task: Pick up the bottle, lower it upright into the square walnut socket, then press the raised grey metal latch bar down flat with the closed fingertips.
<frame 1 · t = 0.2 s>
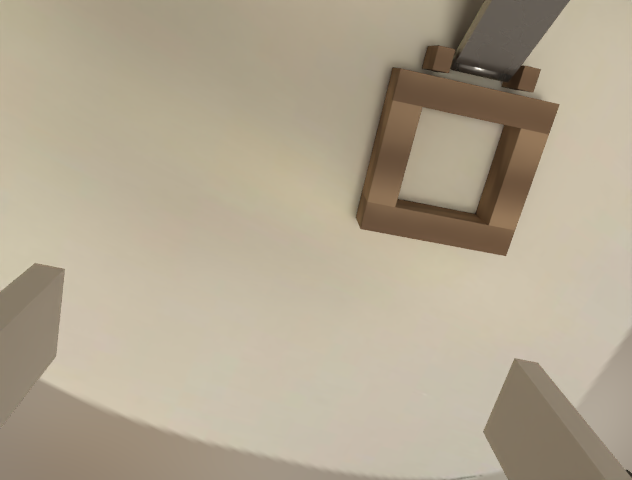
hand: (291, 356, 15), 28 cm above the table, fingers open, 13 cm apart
socket block: (445, 160, 42), on the table
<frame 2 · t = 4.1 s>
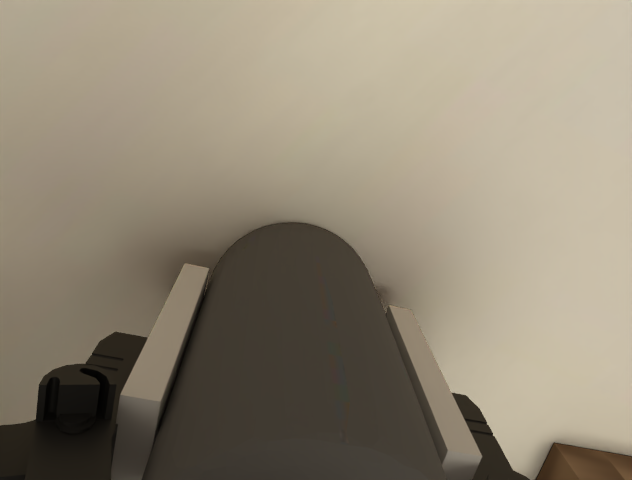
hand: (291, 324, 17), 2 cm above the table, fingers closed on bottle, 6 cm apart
bottle: (290, 296, 19), on the table, touching gripper
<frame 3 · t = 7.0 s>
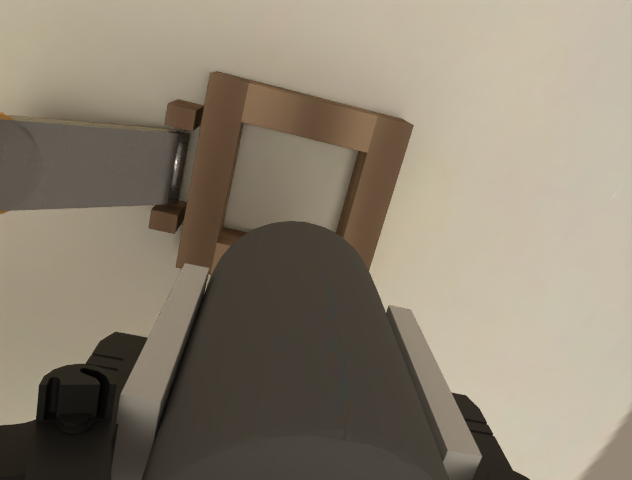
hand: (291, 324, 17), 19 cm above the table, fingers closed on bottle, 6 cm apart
bottle: (291, 295, 19), point 17 cm above the table, touching gripper
socket block: (290, 187, 34), on the table
latch bar: (73, 165, 27), point 6 cm above the table, hinge at 45.0°
when the fingers open (4 cm above the table, at t = 10.0 s): bottle drops 2 cm, resting in socket block.
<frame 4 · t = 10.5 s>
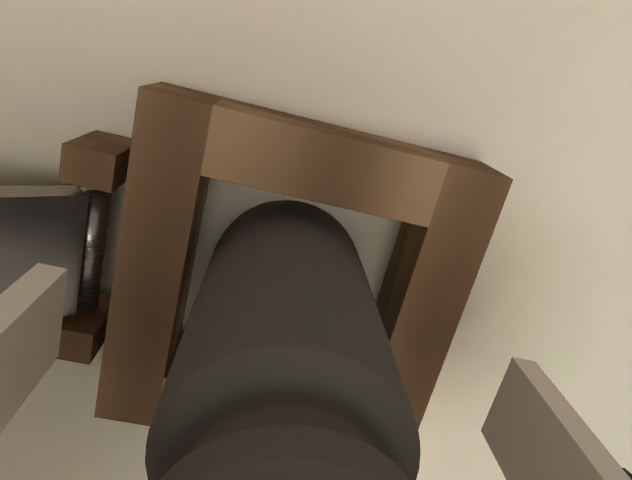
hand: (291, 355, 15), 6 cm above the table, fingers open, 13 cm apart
bottle: (286, 267, 21), resting in socket block
socket block: (290, 271, 21), on the table
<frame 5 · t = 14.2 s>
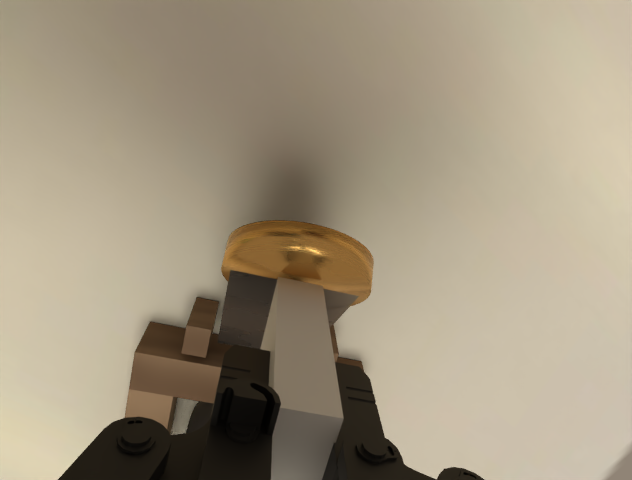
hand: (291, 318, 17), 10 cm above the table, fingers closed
bottle: (239, 423, 31), resting in socket block
socket block: (237, 428, 31), on the table
latch bar: (279, 305, 21), point 6 cm above the table, hinge at 45.0°, touching gripper
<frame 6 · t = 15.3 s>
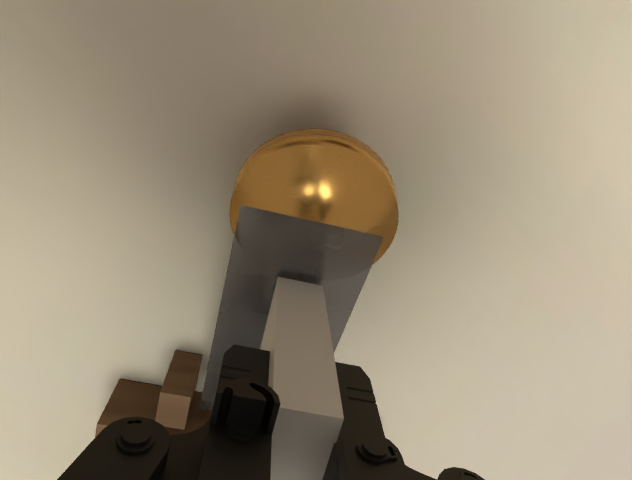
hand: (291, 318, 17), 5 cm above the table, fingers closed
latch bar: (284, 306, 18), point 4 cm above the table, hinge at 18.6°, touching gripper
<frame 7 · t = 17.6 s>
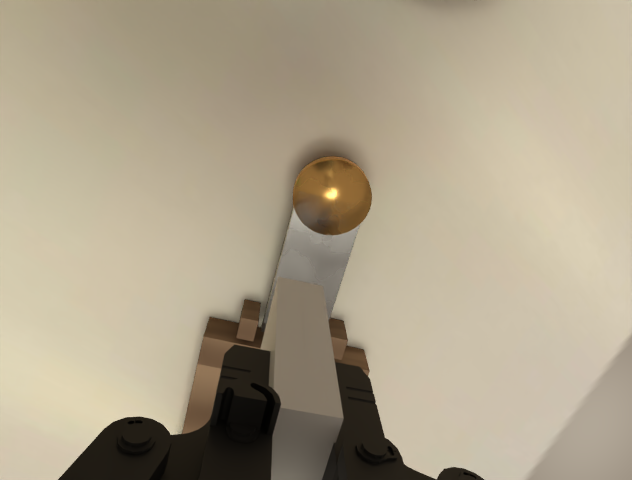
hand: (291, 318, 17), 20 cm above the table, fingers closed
socket block: (270, 399, 41), on the table
latch bar: (314, 254, 35), point 2 cm above the table, hinge at 5.6°
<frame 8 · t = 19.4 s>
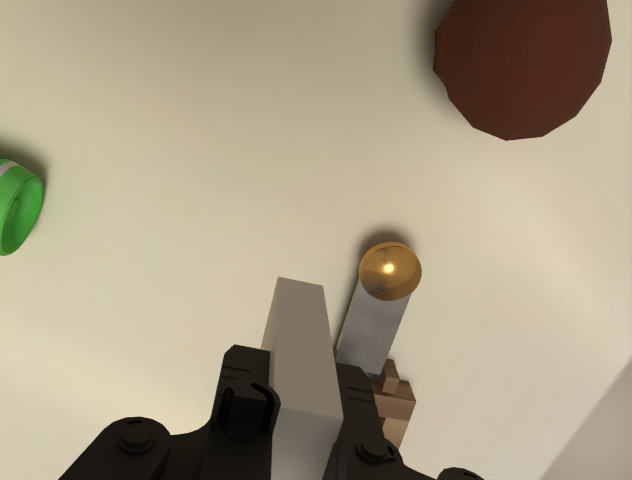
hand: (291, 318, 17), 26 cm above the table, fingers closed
socket block: (332, 422, 51), on the table
muffin: (487, 50, 40), on the table
latch bar: (374, 314, 44), point 2 cm above the table, hinge at 5.6°
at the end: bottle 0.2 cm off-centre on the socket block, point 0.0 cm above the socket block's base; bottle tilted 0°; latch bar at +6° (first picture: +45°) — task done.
